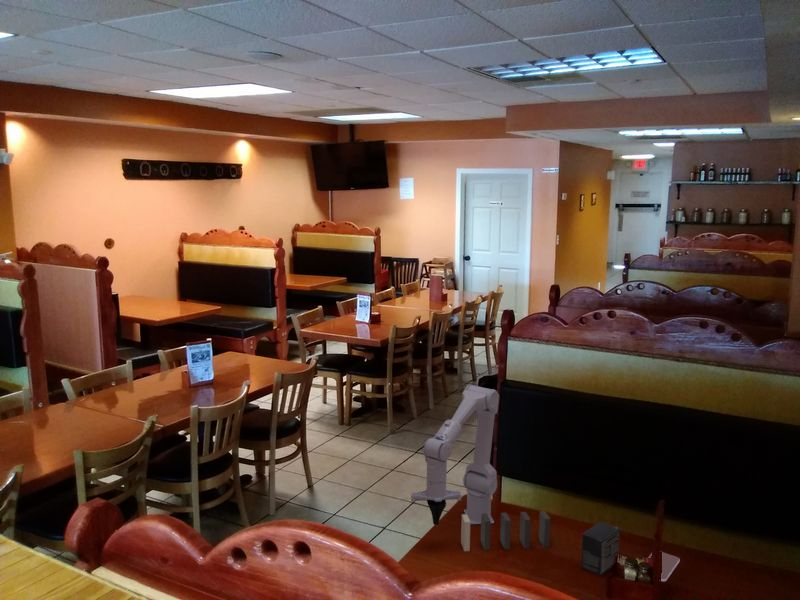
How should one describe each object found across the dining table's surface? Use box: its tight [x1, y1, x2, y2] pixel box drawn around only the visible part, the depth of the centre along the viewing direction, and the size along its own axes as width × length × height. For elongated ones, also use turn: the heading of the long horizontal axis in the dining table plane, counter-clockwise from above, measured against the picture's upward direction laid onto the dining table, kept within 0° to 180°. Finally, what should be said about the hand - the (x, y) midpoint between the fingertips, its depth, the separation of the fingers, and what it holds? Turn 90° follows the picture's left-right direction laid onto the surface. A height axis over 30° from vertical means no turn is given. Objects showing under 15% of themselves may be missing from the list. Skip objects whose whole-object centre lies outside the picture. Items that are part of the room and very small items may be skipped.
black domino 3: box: [499, 512, 512, 550], centre depth 195 cm, size 2×5×9 cm, turn 6°
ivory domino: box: [460, 513, 471, 552], centre depth 194 cm, size 2×5×9 cm, turn 6°
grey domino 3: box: [538, 510, 551, 549], centre depth 196 cm, size 2×5×9 cm, turn 6°
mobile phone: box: [647, 551, 681, 582], centre depth 185 cm, size 8×1×15 cm
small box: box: [581, 521, 621, 576], centre depth 185 cm, size 11×6×10 cm, turn 134°
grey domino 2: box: [519, 511, 532, 550], centre depth 196 cm, size 2×5×9 cm, turn 6°
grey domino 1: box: [480, 513, 492, 551], centre depth 194 cm, size 2×5×9 cm, turn 6°
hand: (435, 523), depth 192 cm, fingers closed
